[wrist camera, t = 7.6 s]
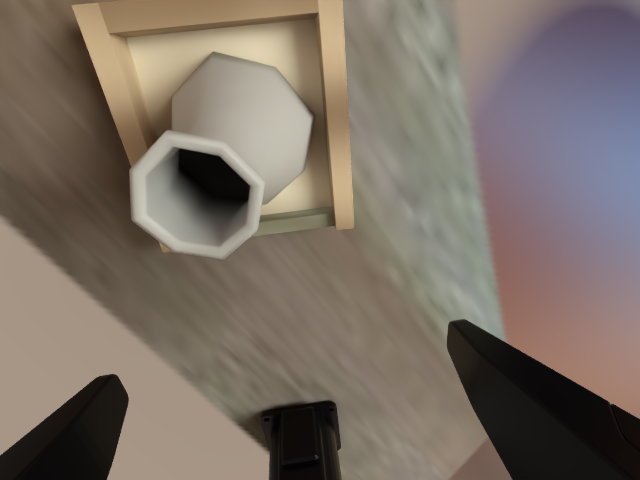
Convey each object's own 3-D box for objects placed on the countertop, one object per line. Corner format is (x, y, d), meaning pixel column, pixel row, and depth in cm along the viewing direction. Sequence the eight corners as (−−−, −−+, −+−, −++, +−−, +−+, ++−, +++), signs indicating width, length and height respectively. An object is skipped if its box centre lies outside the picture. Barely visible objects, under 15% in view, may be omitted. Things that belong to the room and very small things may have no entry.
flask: (149, 161, 17) (-3, 257, 8) (202, 19, 14) (70, -73, 5) (273, 222, 19) (264, 350, 10) (339, 108, 17) (403, 146, 8)
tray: (346, 211, 20) (354, 227, 18) (176, 233, 20) (162, 252, 17) (333, -7, 15) (341, -21, 13) (102, 15, 15) (71, 5, 12)
